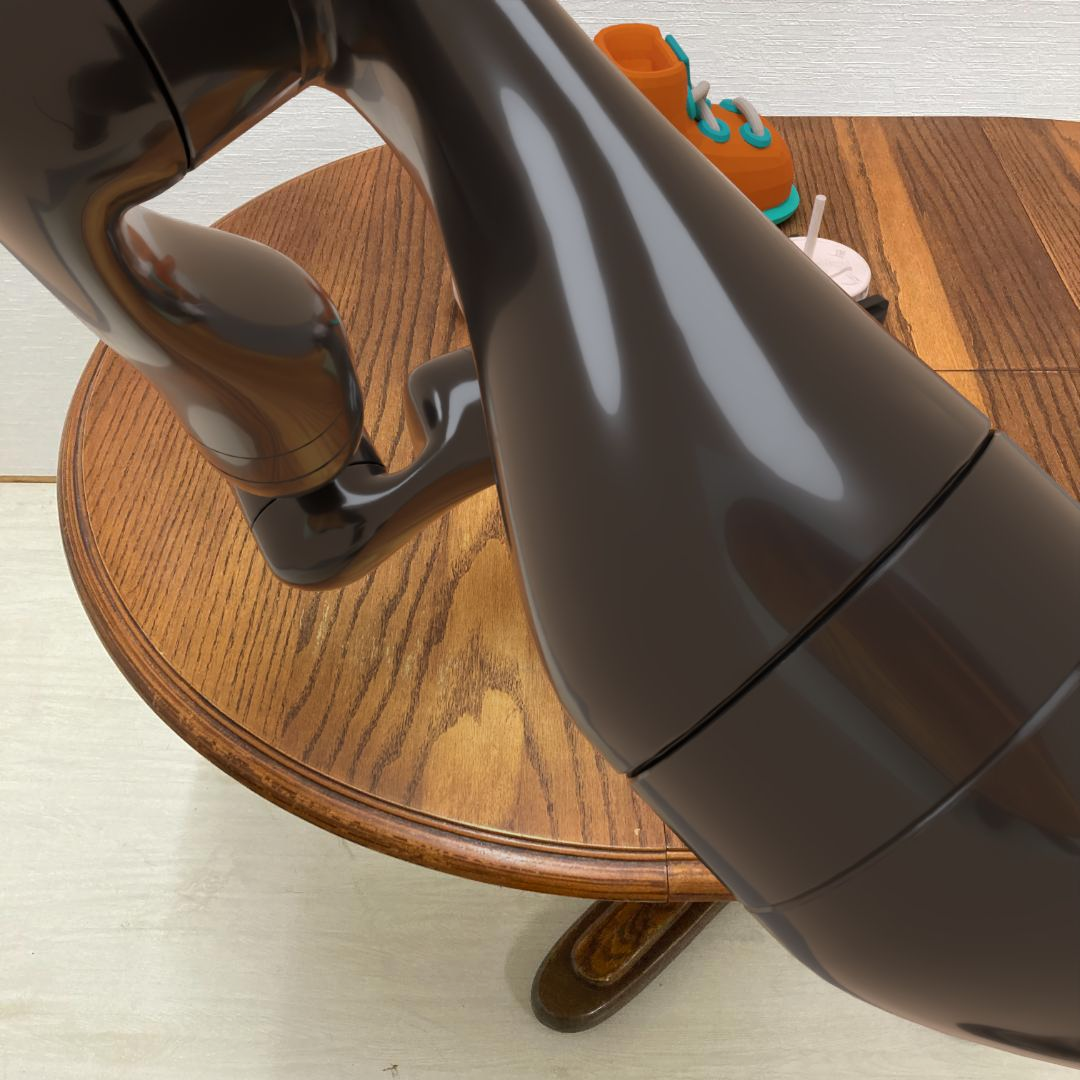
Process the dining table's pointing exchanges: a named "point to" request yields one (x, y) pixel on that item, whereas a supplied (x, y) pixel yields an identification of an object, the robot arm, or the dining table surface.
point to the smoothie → (835, 257)
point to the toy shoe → (706, 117)
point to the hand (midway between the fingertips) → (839, 279)
